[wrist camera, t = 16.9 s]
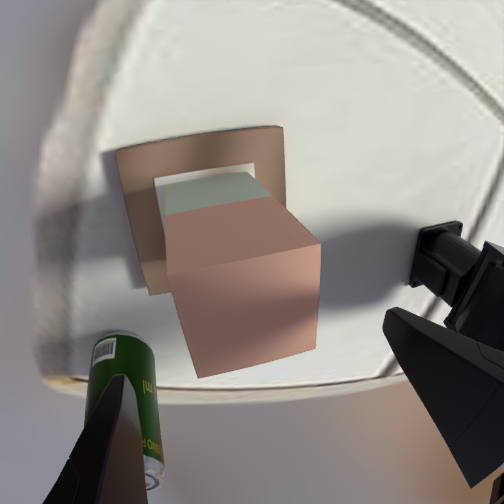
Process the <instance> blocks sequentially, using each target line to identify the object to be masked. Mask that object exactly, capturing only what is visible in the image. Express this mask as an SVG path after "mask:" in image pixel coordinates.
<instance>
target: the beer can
mask: <svg viewBox="0 0 504 504" xmlns="http://www.w3.org/2000/svg"><path fill="white" fill-rule="evenodd" d="M118 374H125V375H126V376H127V378H128V379H129V381H130V383H131V385H132V387H133V389H134V391H135V395H136V402H137V408H138V415H139V421H140V427H141V433H142V442H143V457H144V470H145V481H146V491H147V492H150V491H154V490H156V489H159V488H160V487H161V486H162V485H163V475H164V472H165V465H164V456H163V449H162V441H161V433H160V423H159V413H158V402H157V389H156V375H155V358H154V354H153V352H152V349H151V348H150V346H149V345H148V344H147V343H146V342H145V340H144V339H142V338H141V337H139V336H138V335H136V334H133V333H130V332H124V331H116V332H110V333H108V334H106V335H104V336H103V337H102V338H101V339H100V340H99V341H98V342H97V343H96V344H95V345H94V348H93V351H92V357H91V364H90V372H89V380H88V388H87V398H86V409H85V421H84V427H85V425H86V423H87V421H88V419H89V418H90V416H91V414H92V412H93V410H94V408H95V407H96V405H97V403H98V401H99V399H100V397H101V396H102V394H103V392H104V390H105V388H106V387H107V385H108V383H109V381H110V379H111V378H112V376H114V375H118Z"/></svg>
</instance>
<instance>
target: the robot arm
mask: <svg viewBox="0 0 504 504" xmlns="http://www.w3.org/2000/svg"><path fill="white" fill-rule="evenodd" d="M462 227H463V224H462V223H461V222H460V221H457V222H452V223H448V224H443V225H439V226H434V227H430V228H425V229H422V230H421V231H420V233H419V237H418V243H417V248H416V253H415V258H414V263H413V268H412V272H411V277H410V281H409V285H410V286H411V287H412V288H415V287H418V286H420V285H425V286H426V287H427V288H428V289H429V290H430V291H431V292H432V293H434V294H435V295H436V296H437V297H440V298H442V299H443V300H444V301H445V302H446V303H447V304H448V305H449V306H450V307H453V308H452V309H451V311H450V313H449V315H448V316H447V317H446V318H445V320H444V321H443V323H444V324H445V326H446V327H447V328H445V327H443V326H441V325H438V324H436V323H434V322H431V321H429V320H427V319H424V318H422V317H420V316H418V315H415V314H413V313H411V312H408V311H406V310H404V309H401V308H399V307H394V308H391V309H388V310H387V311H386V314H385V318H384V322H383V326H382V329H383V333H384V335H385V337H386V339H387V341H388V343H389V345H390V347H391V349H392V351H393V353H394V355H395V357H396V359H397V361H398V363H399V365H400V366H401V368H402V370H403V371H404V373H405V375H406V376H407V378H408V379H409V381H410V383H411V384H412V386H413V387H414V389H415V391H416V392H417V394H418V396H419V397H420V399H421V401H422V402H423V404H424V406H425V407H426V409H427V411H428V412H429V414H430V416H431V418H432V419H433V421H434V423H435V424H436V426H437V428H438V430H439V431H440V433H441V435H442V437H443V438H444V440H445V442H446V444H447V445H448V447H449V449H450V451H451V453H452V455H453V457H454V459H455V460H456V462H457V464H458V466H459V468H460V469H461V471H462V473H463V475H464V477H465V479H466V481H467V483H468V485H469V486H470V488H473V487H474V486H475V485H477V484H478V483H479V482H481V481H482V480H483V479H485V478H486V477H487V476H489V475H490V474H491V473H492V472H494V471H495V470H496V469H497V468H498V467H500V466H501V467H502V468H503V470H504V248H503V247H501V246H498V245H496V244H493V243H490V242H488V241H485V243H484V245H483V246H484V247H483V249H482V251H480V250H479V249H477V248H476V247H475V246H473V245H472V244H470V243H469V242H467V241H466V240H464V239H463V238H461V237H460V236H461V232H462ZM69 458H70V459H68V460H67V462H66V464H65V466H64V468H63V470H62V472H61V474H60V476H59V477H58V479H57V481H56V483H55V484H54V486H53V488H52V489H51V491H50V492H49V494H48V496H47V498H46V499H45V500H44V502H43V504H148V499H147V491H146V481H145V470H144V457H143V442H142V433H141V427H140V421H139V415H138V408H137V402H136V395H135V391H134V389H133V387H132V385H131V383H130V381H129V379H128V378H127V376H126V375H125V374H118V375H114V376H112V378H111V379H110V381H109V383H108V385H107V387H106V388H105V390H104V392H103V394H102V396H101V397H100V399H99V401H98V403H97V405H96V407H95V408H94V410H93V412H92V414H91V416H90V418H89V419H88V421H87V423H86V425H85V427H84V429H83V431H82V433H81V435H80V437H79V438H78V440H77V442H76V444H75V446H74V448H73V450H72V452H71V454H70V456H69ZM490 504H504V472H503V473H502V474H500V476H498V477H497V478H496V479H495V480H494V482H493V488H492V493H491V499H490Z"/></svg>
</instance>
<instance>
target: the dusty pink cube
mask: <svg viewBox="0 0 504 504" xmlns="http://www.w3.org/2000/svg"><path fill="white" fill-rule="evenodd" d="M164 217H165V242H166V261H167V276H168V280H169V283H170V287H171V291H172V295H173V298H174V302H175V305H176V309H177V312H178V316H179V319H180V323H181V326H182V330H183V333H184V336H185V340H186V343H187V346H188V349H189V352H190V356H191V359H192V362H193V365H194V368H195V371H196V374H197V377H198V378H203V377H208V376H213V375H217V374H222V373H226V372H230V371H235V370H239V369H243V368H247V367H251V366H255V365H259V364H263V363H267V362H270V361H274V360H278V359H281V358H285V357H289V356H292V355H296V354H299V353H302V352H306V351H309V350H312V349H316V336H317V322H318V307H319V288H320V266H321V243H320V242H319V241H318V240H317V239H316V238H315V237H314V236H313V235H312V234H311V233H310V232H309V231H308V230H307V229H306V228H305V227H304V226H303V225H302V224H301V223H300V222H299V221H298V220H297V219H296V218H295V217H294V216H293V215H292V214H291V213H290V212H289V211H288V210H287V209H286V208H285V207H284V206H283V205H282V204H281V203H280V202H279V201H278V200H277V199H276V198H275V197H274V196H269V197H262V198H256V199H250V200H244V201H239V202H233V203H227V204H222V205H216V206H211V207H205V208H200V209H195V210H189V211H184V212H179V213H174V214H169V215H164Z"/></svg>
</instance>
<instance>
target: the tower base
mask: <svg viewBox="0 0 504 504" xmlns="http://www.w3.org/2000/svg"><path fill="white" fill-rule="evenodd" d="M115 154H116V160H117V165H118V170H119V176H120V181H121V185H122V190H123V195H124V200H125V204H126V208H127V213H128V217H129V221H130V226H131V230H132V234H133V238H134V242H135V246H136V249H137V253H138V257H139V261H140V264H141V268H142V271H143V275H144V278H145V282H146V285H147V289H148V292H149V295H150V296H151V295H156V294H162V293H167V292H172V291H171V287H170V283H169V280H168V276H167V261H166V242H165V217H164V215H165V185H166V184H171V183H177V182H182V181H188V180H194V179H200V178H207V177H213V176H219V175H226V174H233V173H240V172H248V173H249V174H250V175H252V176H253V177H254V178H255V179H256V180H257V181H258V182H259V183H260V184H261V185H262V186H263V187H264V188H265V189H266V190H267V191H268V192H269V193H270V194H271V195H272V196H274V197H275V198H276V199H277V200H278V201H279V202H280V203H281V204H282V205H283V206H284V207H285V208H286V185H285V158H284V135H283V127H280V126H277V125H276V126H264V127H253V128H243V129H234V130H226V131H218V132H210V133H203V134H196V135H190V136H183V137H177V138H171V139H165V140H160V141H154V142H149V143H144V144H139V145H134V146H129V147H125V148H120V149H118V150H117V151H116V152H115Z"/></svg>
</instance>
